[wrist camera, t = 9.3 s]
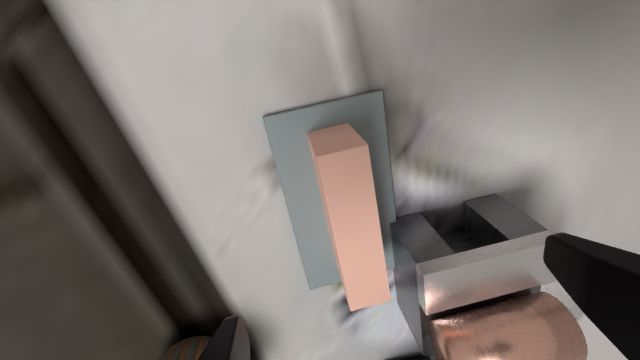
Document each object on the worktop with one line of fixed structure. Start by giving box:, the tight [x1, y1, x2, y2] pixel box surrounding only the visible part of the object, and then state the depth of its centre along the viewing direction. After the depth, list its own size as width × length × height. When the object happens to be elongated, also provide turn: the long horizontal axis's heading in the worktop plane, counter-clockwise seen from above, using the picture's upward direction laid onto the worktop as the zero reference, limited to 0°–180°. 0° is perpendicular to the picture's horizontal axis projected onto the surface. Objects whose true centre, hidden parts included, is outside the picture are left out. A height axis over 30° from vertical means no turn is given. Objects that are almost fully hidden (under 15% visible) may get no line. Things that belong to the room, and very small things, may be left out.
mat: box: [263, 90, 397, 290], centre depth 21 cm, size 13×7×1 cm, turn 11°
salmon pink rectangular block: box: [307, 123, 391, 311], centre depth 19 cm, size 10×2×4 cm, turn 12°
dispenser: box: [390, 194, 587, 360], centre depth 20 cm, size 8×8×9 cm
